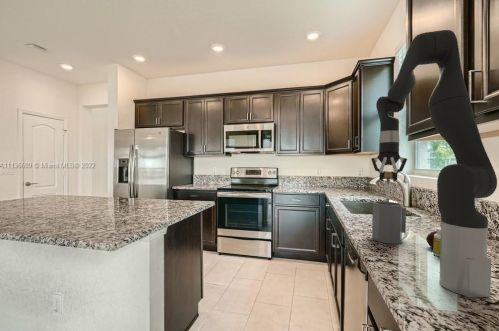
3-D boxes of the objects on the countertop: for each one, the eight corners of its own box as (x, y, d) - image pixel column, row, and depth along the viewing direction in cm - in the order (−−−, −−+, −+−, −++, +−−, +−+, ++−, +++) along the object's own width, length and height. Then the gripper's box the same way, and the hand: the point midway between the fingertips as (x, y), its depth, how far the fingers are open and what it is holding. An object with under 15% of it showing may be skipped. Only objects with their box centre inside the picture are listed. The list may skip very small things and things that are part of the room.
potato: (455, 250, 93) (455, 232, 93) (443, 253, 89) (444, 234, 89) (433, 244, 99) (433, 227, 99) (422, 247, 96) (422, 229, 96)
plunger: (403, 215, 100) (404, 171, 100) (384, 215, 99) (385, 171, 99) (389, 211, 108) (390, 171, 108) (372, 211, 108) (373, 170, 107)
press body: (414, 244, 99) (415, 205, 99) (382, 244, 98) (383, 205, 98) (395, 235, 110) (396, 201, 110) (366, 236, 109) (367, 201, 109)
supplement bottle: (432, 255, 87) (433, 228, 87) (434, 251, 91) (434, 226, 91) (451, 259, 83) (452, 232, 83) (452, 255, 87) (453, 229, 87)
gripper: (407, 142, 103) (406, 181, 103) (371, 143, 110) (370, 180, 111) (409, 140, 97) (408, 182, 97) (370, 141, 104) (369, 180, 104)
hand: (388, 181), depth 104 cm, fingers closed on plunger, 4 cm apart
